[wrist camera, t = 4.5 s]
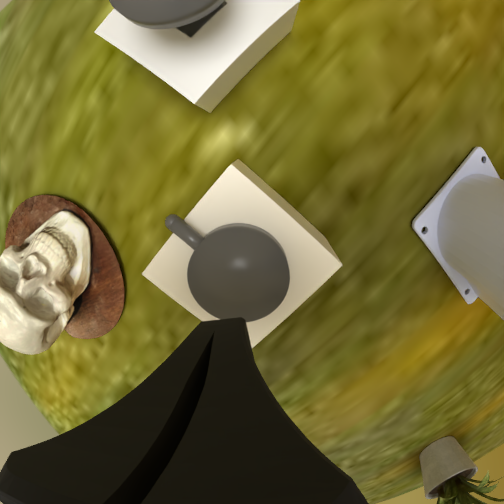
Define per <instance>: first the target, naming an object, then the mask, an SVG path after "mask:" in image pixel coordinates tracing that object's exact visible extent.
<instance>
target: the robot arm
mask: <svg viewBox="0 0 504 504" xmlns="http://www.w3.org/2000/svg"><path fill="white" fill-rule="evenodd" d="M482 157H483V162H482V161H481V158H482ZM423 227H425V231H424V232H423V233H422V232H421V230H422V228H423ZM412 228H413V229H414V231H415V232H416V233H417V234H418V236H419V237H420V238H421V240H422V241H423V242H424V244H425V245H426V246H427V247H428V249H429V250H430V251H431V253H432V254H433V255H434V257H435V258H436V260H437V261H438V262H439V264H440V265H441V266H442V268H443V269H444V271H445V272H446V273H447V275H448V276H449V278H450V279H451V281H452V282H453V284H454V285H455V286H456V288H457V289H458V291H459V292H460V294H461V295H462V297H463V298H464V300H465V301H466V302H467V303H468V304H472V303H473V302H474V301H475V300H476V299H477V298H478V297H479V298H480V299H481V300H482V301H483V302H484V303H486V304H487V305H488V306H489V307H490V308H491V309H492V310H493V311H494V312H495V313H496V314H498V315H499V316H500V317H501V318H502V319H503V320H504V180H503V179H500V178H499V176H498V174H497V172H496V170H495V168H494V167H493V165H492V163H491V161H490V160H489V158H488V156H487V154H486V153H485V151H484V150H483V148H481V147H475V148H474V149H473V150H472V152H471V153H470V154H469V155H468V157H467V158H466V159H465V160H464V162H463V163H462V164H461V165H460V167H459V168H458V169H457V170H456V171H455V173H454V174H453V175H452V176H451V177H450V179H449V180H448V181H447V182H446V183H445V185H444V186H443V187H442V188H441V189H440V190H439V192H438V193H437V194H436V195H435V196H434V197H433V198H432V200H431V201H430V202H429V203H428V204H427V205H426V206H425V207H424V209H423V210H422V211H421V212H420V213H419V214H418V215H417V216H416V217H415V218H414V220H413V222H412ZM466 289H467V290H466ZM465 290H466V292H465ZM0 501H1V502H2V503H3V504H368V502H367V501H366V499H365V497H364V496H363V494H362V493H361V491H360V490H359V489H358V487H357V486H356V484H355V482H354V481H353V479H352V478H351V477H350V476H348V475H347V474H346V473H345V472H343V471H342V470H341V469H340V468H338V467H337V466H336V465H335V464H334V463H333V462H331V461H330V460H329V459H328V458H327V457H326V456H325V455H324V454H323V453H321V452H320V451H319V450H318V449H317V448H316V447H315V446H314V445H313V444H312V443H311V442H310V441H309V440H308V439H307V437H306V436H305V435H304V434H303V433H302V432H301V431H300V429H299V428H298V427H297V426H296V425H295V424H294V422H293V421H292V420H291V419H290V418H289V417H288V415H287V414H286V413H285V411H284V410H283V409H282V407H281V406H280V405H279V403H278V402H277V400H276V399H275V397H274V396H273V394H272V393H271V391H270V390H269V388H268V386H267V385H266V383H265V381H264V379H263V377H262V376H261V374H260V372H259V370H258V368H257V366H256V363H255V361H254V357H253V352H252V347H251V343H250V338H249V333H248V329H247V324H246V320H245V319H244V318H242V317H237V318H228V319H220V320H211V321H202V322H201V323H200V324H199V325H198V326H197V327H196V328H195V329H194V330H193V331H192V332H191V333H190V334H189V336H188V337H187V338H186V339H185V340H184V341H183V342H182V343H181V344H180V345H179V347H178V348H177V349H176V350H175V351H174V352H173V353H172V354H171V355H170V356H169V357H168V358H167V359H166V360H165V361H164V362H163V363H162V364H161V365H160V366H159V367H158V368H157V369H156V370H155V371H154V372H153V373H152V374H151V375H150V376H149V377H147V378H146V379H145V380H144V381H143V382H142V383H141V384H140V385H138V386H137V387H136V388H135V389H134V390H132V391H131V392H130V393H129V394H127V395H126V396H125V397H123V398H122V399H121V400H119V401H118V402H117V403H115V404H114V405H112V406H111V407H109V408H108V409H106V410H104V411H103V412H101V413H100V414H98V415H96V416H95V417H93V418H92V419H90V420H88V421H87V422H85V423H83V424H81V425H79V426H77V427H75V428H73V429H72V430H70V431H67V432H65V433H63V434H61V435H59V436H57V437H54V438H52V439H50V440H47V441H44V442H41V443H38V444H36V445H33V446H30V447H27V448H24V449H21V450H18V451H14V452H12V453H11V454H10V456H9V457H8V459H7V461H6V463H5V464H4V466H3V468H2V470H1V472H0Z"/></svg>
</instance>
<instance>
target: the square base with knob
mask: <svg viewBox="0 0 504 504" xmlns="http://www.w3.org/2000/svg"><path fill="white" fill-rule="evenodd" d="M299 3H300V0H225V1H224V2H223V3H222V4H221V5H220V6H219V7H218V8H216V9H215V10H214V11H213V12H211V13H210V14H208V15H207V16H205V17H203V18H201V19H199V20H197V21H195V22H192V23H190V24H187V25H184V26H180V27H176V28H170V29H149V28H144V27H141V26H138V25H136V24H134V23H132V22H130V21H129V20H128V19H126V18H125V17H124V16H123V15H121V14H120V13H119V12H118V11H116V9H115V8H114V9H113V11H112V12H111V13H110V14H109V15H108V16H107V17H106V19H105V20H104V21H103V22H102V23H101V25H100V26H99V27H98V28H97V29H96V31H95V33H96V34H98V35H99V36H101V37H102V38H104V39H105V40H107V41H108V42H110V43H111V44H113V45H114V46H116V47H117V48H119V49H120V50H122V51H123V52H125V53H126V54H127V55H129V56H130V57H132V58H133V59H135V60H136V61H137V62H139V63H140V64H142V65H143V66H144V67H146V68H147V69H149V70H150V71H151V72H153V73H154V74H155V75H157V76H158V77H159V78H161V79H162V80H163V81H165V82H166V83H167V84H169V85H170V86H171V87H173V88H174V89H175V90H177V91H178V92H179V93H181V94H182V95H183V96H185V97H186V98H187V99H188V100H190V101H191V102H192V103H194V104H195V105H197V106H199V107H200V108H202V109H204V110H206V111H208V112H209V113H211V112H212V111H213V109H214V108H215V107H216V106H217V105H218V104H219V103H220V102H221V101H222V99H223V98H224V97H225V96H226V95H227V94H228V93H229V92H230V91H231V90H232V89H233V88H234V87H235V85H236V84H237V83H238V82H239V81H240V80H241V79H242V78H243V77H244V76H245V75H246V74H247V73H248V72H249V71H250V70H251V69H252V68H253V67H254V66H255V65H256V64H257V63H258V62H259V61H260V60H261V59H262V58H263V57H264V56H265V55H266V54H267V53H268V52H269V51H270V50H271V49H272V48H273V47H274V46H275V45H277V44H278V43H279V42H280V41H281V40H282V39H283V38H284V37H285V36H286V35H287V34H288V33H290V32H291V30H292V26H293V23H294V19H295V16H296V13H297V9H298V6H299Z"/></svg>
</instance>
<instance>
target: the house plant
mask: <svg viewBox="0 0 504 504" xmlns="http://www.w3.org/2000/svg"><path fill="white" fill-rule="evenodd" d="M420 463H421V469H422V476H423V483H424V490H425V497H426V498H427V499H433V498H437V497H438V501H437V504H486V503H484V502H482V501H480V500H478V499H476V498H474V497H473V496H472V495H470V494H469V493H470V492H475V493H477V494H479V495H481V496H483V497H485V498H488V499H490V500H493V501H500V502H501V501H504V499H496V498H493V497H490V496H487V495H485V494H483V493H489V492H491V491H492V490H494V489H495V488H496V486H497V484H496V485H493V486H490V487H487V486H488V485H489V484H490V483H492V482H495V481H491V482H490V481H489V472H487V475H486V476H485V477H484V479H483V480H482V481H477V480H473V479H471V478H472V477H473V476H474V475H475V473H476V472H477V470H478V468H477V466H476V465H475V464H474V462H473V461H472V460H471V458H470V457H469V456H468V455H467V453H466V452H465V451H464V449H463V448H462V447H461V446H460V444H459V443H458V442H457V441H456V439H455V438H454V437H452V436H448V437H444V438H441V439H439V440H437V441H435V442H433V443H432V444H430V445H429V446H428V447H426V448H425V449H424V450H423V451H422V452H421V454H420ZM467 481H471V482H476V483H480V485H479V486H476V485H474V484H472V483H469V482H467ZM487 483H489V484H488V485H487V486H484V485H485V484H487ZM483 486H484V487H483ZM485 487H486V488H485ZM468 492H469V493H468Z"/></svg>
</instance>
